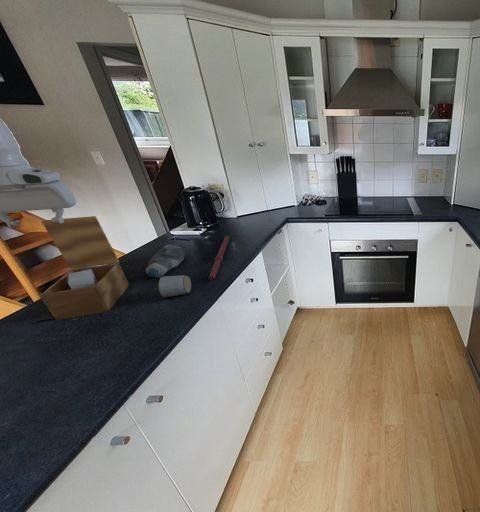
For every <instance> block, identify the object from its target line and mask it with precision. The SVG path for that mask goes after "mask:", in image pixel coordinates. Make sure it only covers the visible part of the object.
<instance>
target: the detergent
mask: <svg viewBox="0 0 480 512" xmlns="http://www.w3.org/2000/svg"><path fill="white" fill-rule="evenodd" d="M186 254H187V250H185V249H184V247H182V246H180V245H177V244H175V243H174V244H172V243H171V244H166V245H163V246H162V247H160V248H159V249H158V250H157V251H156V252H155V254H154V255H153V256H151V258H150V259H149V260H148V265H147V266H146V268H145V270H144V271H145V273H146V274H147V276H148V277H150V278H159V279H160V278H161V277H164V275H165V274H166V273H167V272H169V271H170V270H172V269H174V268H177V267H178V266H179V265H180V264H181V263H182V262H183V261H184V260H185V256H186Z"/></svg>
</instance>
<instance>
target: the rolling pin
mask: <svg viewBox="0 0 480 512" xmlns="http://www.w3.org/2000/svg"><path fill="white" fill-rule="evenodd" d="M230 240H231V236H230V235H225V236H224V238H223V241H222V243H221V246H220V248H219V251H218V253H217V255H216V256H215V257H214V260H213V261H214V263H213V265H212V268H211V270H210V273H209V275H208V280H210V281H214V280H215V279H216V276H217V274H218V271H219V269H220V266H221V264H222V263H223V261H224V255H225V252H226V249H227V247H228V245H229V241H230Z"/></svg>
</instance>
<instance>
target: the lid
mask: <svg viewBox="0 0 480 512" xmlns="http://www.w3.org/2000/svg"><path fill="white" fill-rule="evenodd" d="M63 220H64V223H61V224H54V223H53V222H54V221H52V219H43V220H41V221H40V222H41V224H42V226H43V227H44V228H45V230H46V232H47V233H48V234H49V237H50V238H51V239H52V241H53V243H54V244H55V246H56V248H57V249H58V251H59V252H60V254H61V255H62V257H63V259H64V260H65V262H66V263H67V265H68V266H69V268H70V270H72V269H79V268H87V267H94V266H102V265H110V264H117V263H120V260H119V258H118V257H117V254H116V252H115V250H114V249H113V246H112V245H111V242H110V240H109V239H108V237H107V235H106V233H105V231H104V229H103V227H102V226H101V224H100V222H99V220H98V218H97V216H96V215H94V216H91V215H90V216H81V217H80V216H79V217H67V218H63Z"/></svg>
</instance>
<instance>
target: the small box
mask: <svg viewBox="0 0 480 512" xmlns="http://www.w3.org/2000/svg"><path fill="white" fill-rule="evenodd" d="M97 283H98V281H97V279H96V277H95V276H94V274H93V272H92V270H91V269H88V270H84V271H80V272H75V273H71V274H69V277H68V284H69V286H70V288H71V289H79V288H85V287H92V286H95V285H96V284H97Z"/></svg>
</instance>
